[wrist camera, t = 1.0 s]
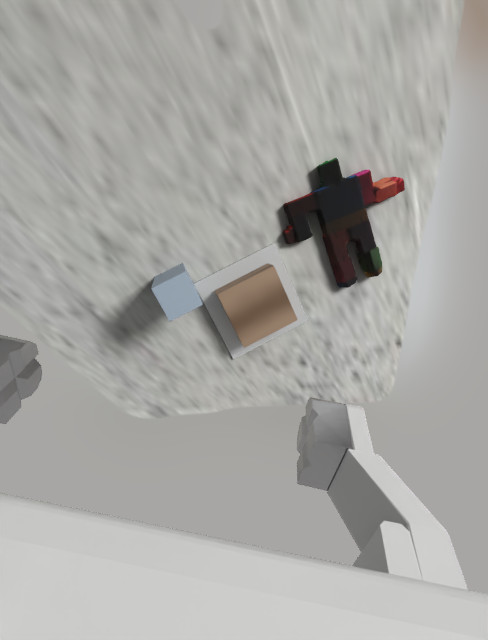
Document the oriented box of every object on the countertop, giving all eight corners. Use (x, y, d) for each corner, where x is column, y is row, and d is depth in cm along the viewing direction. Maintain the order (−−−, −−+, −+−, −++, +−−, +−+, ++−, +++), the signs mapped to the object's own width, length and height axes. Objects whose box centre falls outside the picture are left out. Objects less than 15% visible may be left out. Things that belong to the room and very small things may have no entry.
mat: (193, 283, 47) (193, 283, 47) (274, 242, 48) (275, 242, 48) (233, 358, 51) (233, 359, 50) (307, 319, 52) (308, 320, 51)
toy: (399, 177, 49) (413, 175, 46) (368, 291, 53) (379, 295, 50) (294, 150, 46) (302, 146, 43) (269, 275, 49) (275, 278, 47)
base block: (214, 290, 48) (217, 294, 45) (267, 263, 48) (273, 265, 45) (240, 341, 50) (244, 347, 47) (290, 314, 50) (297, 319, 48)
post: (154, 277, 46) (151, 288, 37) (182, 262, 46) (185, 271, 38) (169, 304, 47) (169, 321, 39) (197, 290, 47) (203, 304, 39)
